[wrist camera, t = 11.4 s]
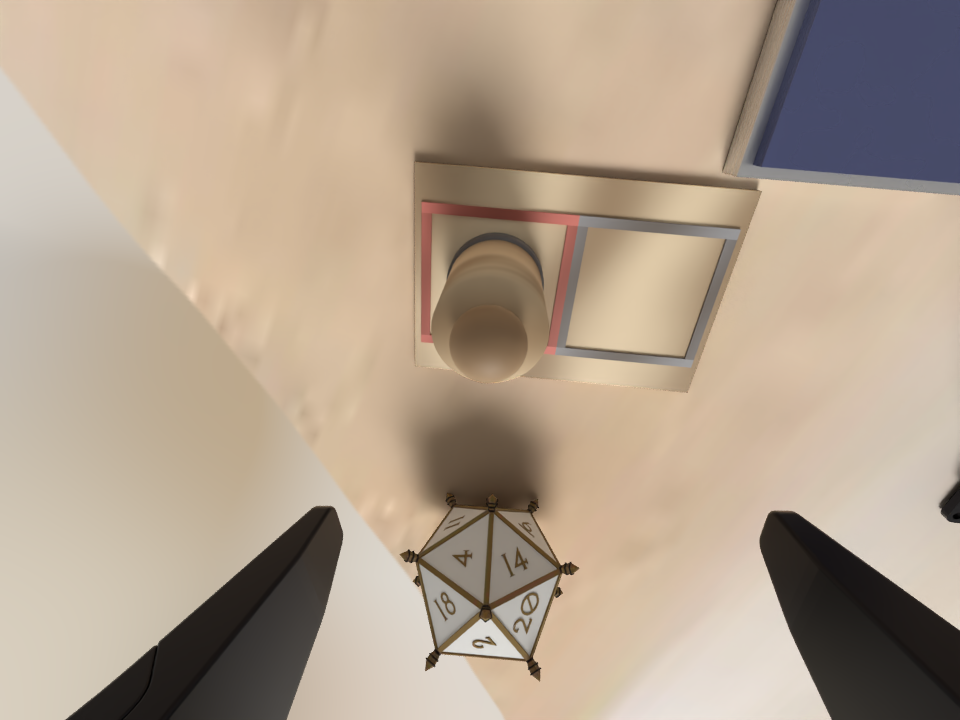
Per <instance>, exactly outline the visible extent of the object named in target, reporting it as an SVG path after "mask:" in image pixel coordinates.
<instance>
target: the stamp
mask: <svg viewBox="0 0 960 720" xmlns="http://www.w3.org/2000/svg"><path fill="white" fill-rule="evenodd" d="M543 291H544V278H543V272H542V267H541V264H540V261H539V259H538V257H537V255H536V254H535V252H534V251H533V250H532V248H531V247H530V246H529V245H528V244H526V243H525V242H524V241H522V240H521V239H519V238H517V237H515V236H513V235H509V234H506V233H497V232H493V233H485V234H482V235H479V236H476V237H474V238H472V239H470V240H469V241H467V242H466V243H465V244H464V245H463V246H462V247H461V248H460V249H459V250H458V251H457V253H456V254H455V256H454V258H453V260H452V262H451V265H450V267H449V270H448V273H447V280H446V283H445V286H444V288H443V291H442V293H441V296H440V298H439V301H438V303H437V305H436V308H435V311H434V313H433V317H432V322H431V335H432V340H433V343H434V346H435V349H436V351H437V353H438V354H439V356H440V357H441V359H442V360H443V361H444V362H445V363H446V365H447V366H449V367H450V368H451V369H452V370H453V371H455V372H456V373H458V374H459V375H461V376H463V377H465V378H468V379H470V380H474V381H476V382H480V383H499V382H505V381H509V380H512V379H515V378H517V377H519V376H521V375H523V374H525V373H526V372H528V371H529V370H530V369H532V368H533V367H534V366H535V365H536V364H537V362H538V361H539V360H540V359H541V357H542V355H543V354H544V352H545V349H546V347H547V344H548V340H549V321H548V315H547V309H546V303H545V298H544V292H543Z"/></svg>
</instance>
